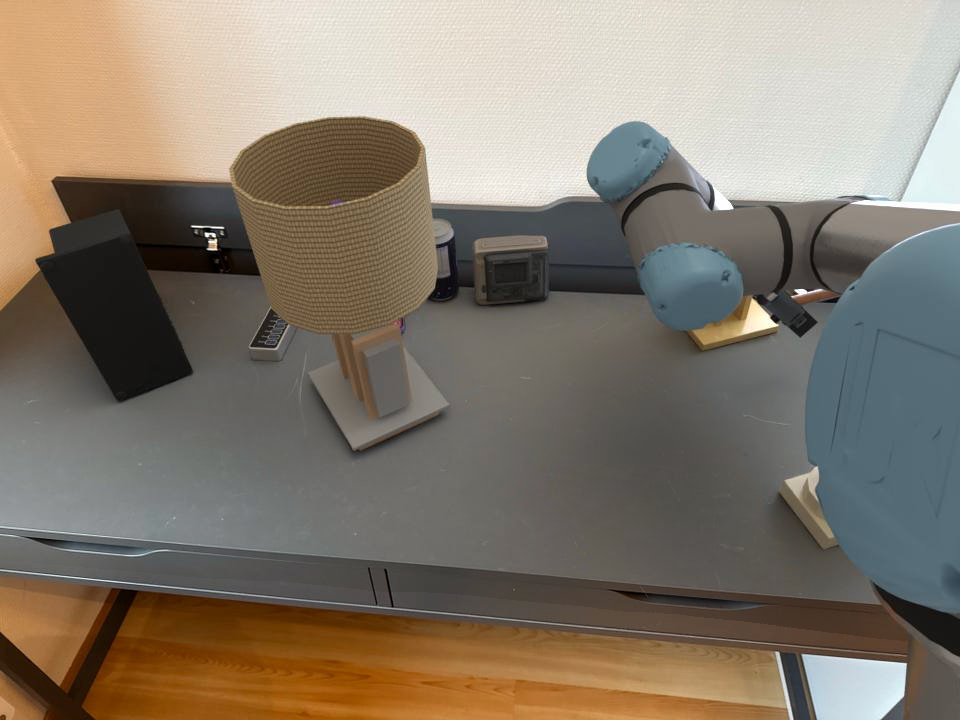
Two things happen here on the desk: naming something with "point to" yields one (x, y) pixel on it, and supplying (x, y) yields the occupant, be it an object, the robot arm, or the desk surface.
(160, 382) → the bookend
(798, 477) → the button box
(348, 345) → the desk lamp
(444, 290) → the beverage can
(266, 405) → the desk surface
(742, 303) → the bracket
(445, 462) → the desk surface
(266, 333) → the multiport hub
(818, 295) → the lever
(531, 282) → the camera
